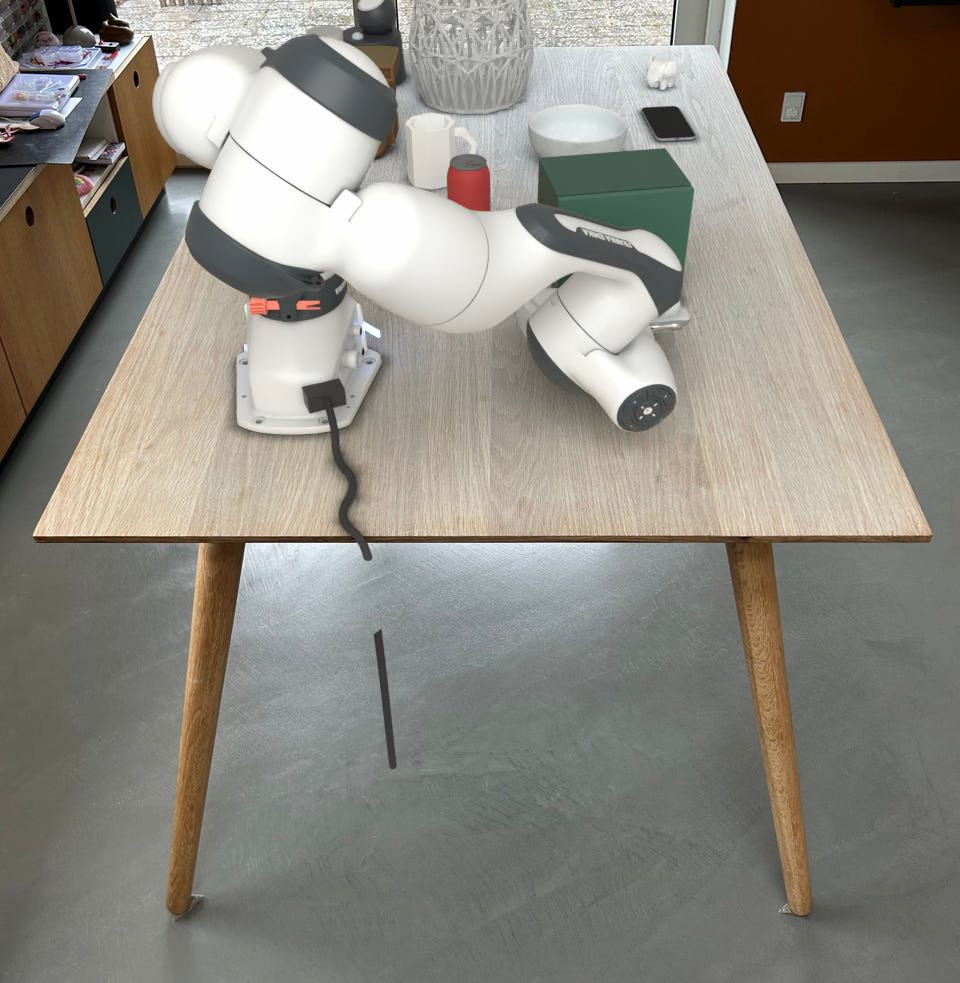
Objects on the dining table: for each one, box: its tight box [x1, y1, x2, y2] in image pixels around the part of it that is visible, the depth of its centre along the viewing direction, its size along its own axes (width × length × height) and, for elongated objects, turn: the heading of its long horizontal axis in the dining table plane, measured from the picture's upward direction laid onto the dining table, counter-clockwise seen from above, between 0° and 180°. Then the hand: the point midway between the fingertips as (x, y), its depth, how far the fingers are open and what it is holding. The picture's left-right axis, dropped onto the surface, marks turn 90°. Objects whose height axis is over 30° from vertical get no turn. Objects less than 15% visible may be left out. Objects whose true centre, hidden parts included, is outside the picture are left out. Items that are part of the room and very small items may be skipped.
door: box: [557, 185, 695, 288], centre depth 139 cm, size 6×18×17 cm, turn 99°
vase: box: [408, 0, 535, 115], centre depth 199 cm, size 24×24×30 cm
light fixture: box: [343, 0, 407, 87], centre depth 211 cm, size 13×16×14 cm
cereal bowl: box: [527, 103, 628, 158], centre depth 182 cm, size 17×17×7 cm
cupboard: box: [537, 147, 692, 208], centre depth 146 cm, size 12×18×17 cm, turn 99°
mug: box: [404, 112, 479, 191], centre depth 176 cm, size 12×9×10 cm
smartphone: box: [640, 105, 696, 142], centre depth 195 cm, size 7×1×15 cm
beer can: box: [446, 153, 491, 211], centre depth 159 cm, size 7×7×12 cm
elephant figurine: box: [645, 54, 679, 91], centre depth 209 cm, size 7×8×6 cm
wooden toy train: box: [354, 46, 400, 159], centre depth 184 cm, size 20×11×17 cm, turn 87°
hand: (584, 277), depth 135 cm, fingers open, 8 cm apart
